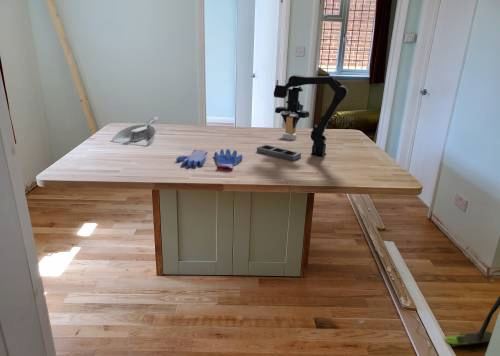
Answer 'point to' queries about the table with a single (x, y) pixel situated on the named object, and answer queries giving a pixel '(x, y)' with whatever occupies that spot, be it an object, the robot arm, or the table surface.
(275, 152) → the rail
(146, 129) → the dustpan and brush
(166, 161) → the table surface
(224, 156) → the pair of gloves
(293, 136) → the wall hook
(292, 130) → the orange peg
